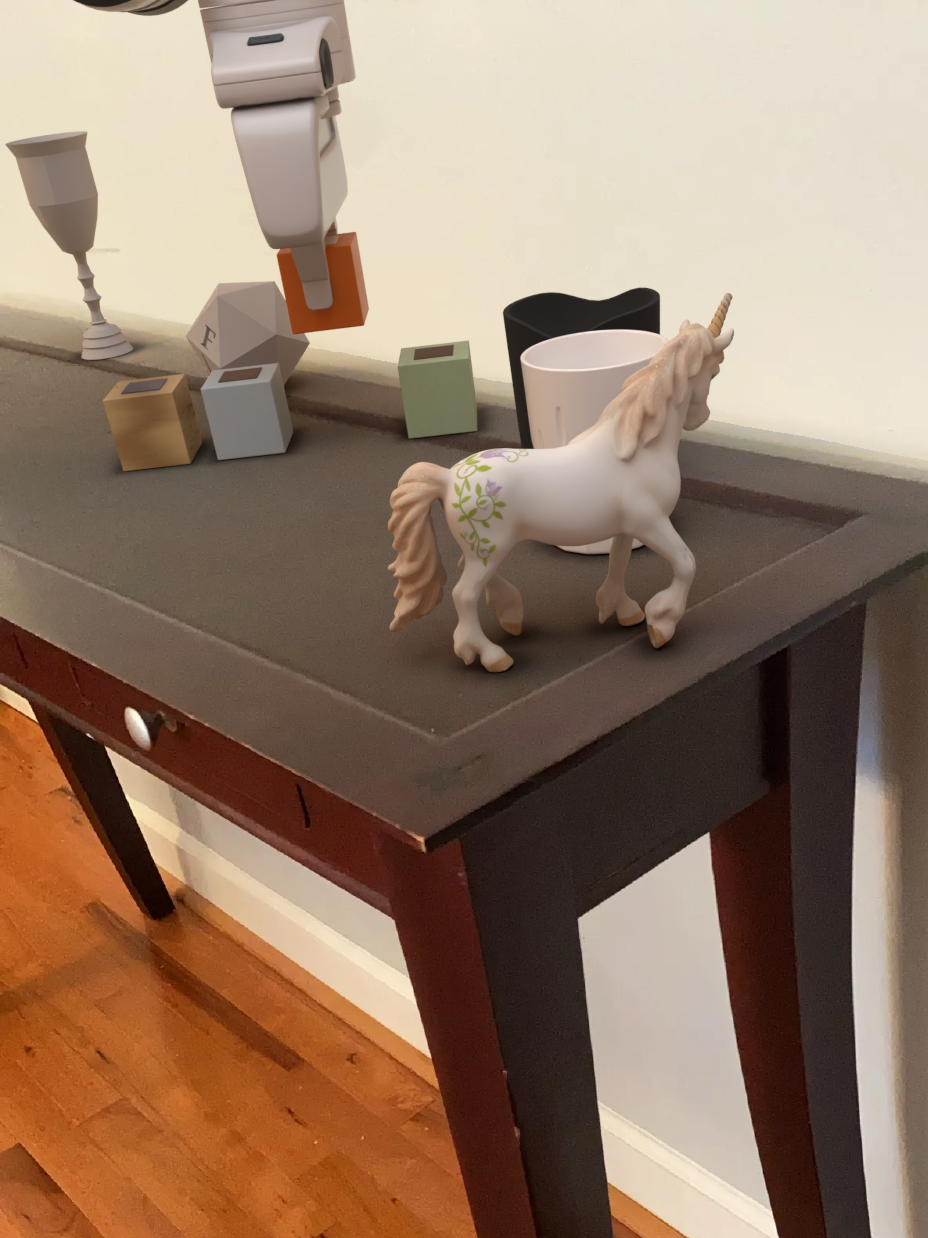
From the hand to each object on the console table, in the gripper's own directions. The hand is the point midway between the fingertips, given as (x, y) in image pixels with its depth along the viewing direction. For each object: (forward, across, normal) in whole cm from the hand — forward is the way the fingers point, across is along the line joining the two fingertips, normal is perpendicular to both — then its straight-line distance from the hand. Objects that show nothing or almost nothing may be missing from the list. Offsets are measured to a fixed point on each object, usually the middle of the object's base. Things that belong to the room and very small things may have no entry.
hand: (326, 297), depth 88 cm
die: (+10, -16, -9) cm, 21 cm away
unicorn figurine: (+10, +36, +15) cm, 40 cm away
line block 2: (+9, 0, -7) cm, 12 cm away
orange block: (+2, 0, 0) cm, 2 cm away
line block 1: (+9, 0, -14) cm, 17 cm away
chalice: (+10, -37, -27) cm, 47 cm away
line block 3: (+9, 0, +7) cm, 12 cm away
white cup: (+10, +25, +17) cm, 32 cm away
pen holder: (+10, +14, +17) cm, 24 cm away
